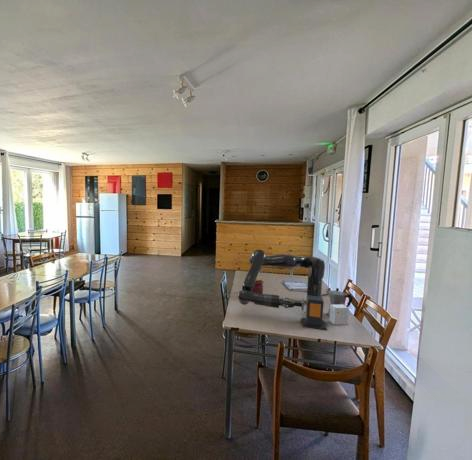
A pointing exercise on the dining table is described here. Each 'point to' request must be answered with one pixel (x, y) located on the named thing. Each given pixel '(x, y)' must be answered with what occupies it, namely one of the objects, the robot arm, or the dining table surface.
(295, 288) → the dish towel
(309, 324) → the dispenser
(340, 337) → the dining table surface
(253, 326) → the dining table surface
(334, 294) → the coffeepot
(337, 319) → the small box
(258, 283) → the kitchen canister
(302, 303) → the push plate
